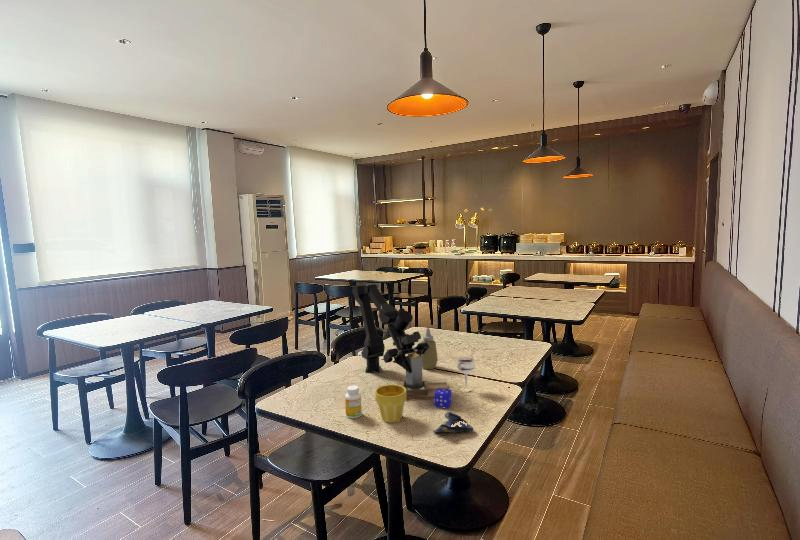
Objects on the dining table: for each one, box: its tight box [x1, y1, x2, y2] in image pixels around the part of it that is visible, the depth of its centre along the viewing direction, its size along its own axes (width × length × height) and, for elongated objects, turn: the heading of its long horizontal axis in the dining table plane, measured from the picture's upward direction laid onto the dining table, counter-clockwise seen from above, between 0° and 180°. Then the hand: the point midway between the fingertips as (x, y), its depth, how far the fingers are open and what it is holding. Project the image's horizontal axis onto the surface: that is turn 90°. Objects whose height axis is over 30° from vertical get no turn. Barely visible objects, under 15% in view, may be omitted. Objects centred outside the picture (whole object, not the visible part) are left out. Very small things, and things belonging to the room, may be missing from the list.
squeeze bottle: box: [420, 327, 438, 370], centre depth 188 cm, size 8×8×18 cm
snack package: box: [432, 411, 474, 434], centre depth 130 cm, size 12×6×12 cm
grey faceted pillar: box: [405, 353, 423, 390], centre depth 159 cm, size 4×4×13 cm
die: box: [434, 388, 453, 409], centre depth 149 cm, size 5×5×5 cm
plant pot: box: [374, 384, 407, 423], centre depth 139 cm, size 10×10×10 cm
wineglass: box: [456, 356, 476, 389], centre depth 161 cm, size 7×7×12 cm
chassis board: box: [396, 380, 449, 401], centre depth 161 cm, size 14×20×3 cm
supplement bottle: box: [344, 385, 363, 419], centre depth 142 cm, size 5×5×10 cm
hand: (415, 371), depth 158 cm, fingers closed on grey faceted pillar, 4 cm apart
